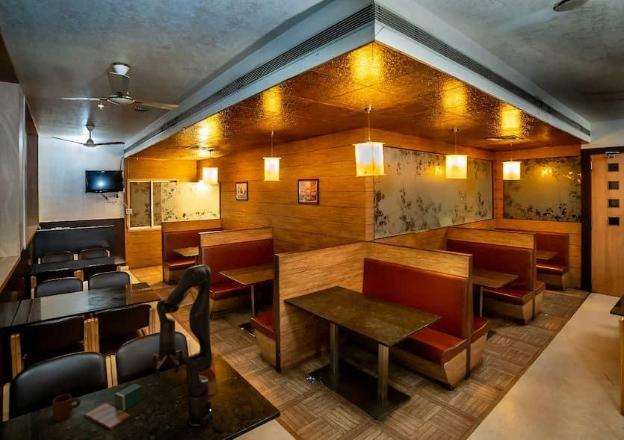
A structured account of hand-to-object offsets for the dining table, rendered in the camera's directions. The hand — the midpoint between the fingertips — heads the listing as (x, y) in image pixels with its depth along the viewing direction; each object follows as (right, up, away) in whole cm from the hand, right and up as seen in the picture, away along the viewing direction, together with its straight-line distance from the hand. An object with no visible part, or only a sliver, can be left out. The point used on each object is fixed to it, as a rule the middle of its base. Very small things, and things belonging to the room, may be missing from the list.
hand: (167, 374), depth 171 cm
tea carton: (-23, -15, +8) cm, 29 cm away
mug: (-47, -20, -1) cm, 51 cm away
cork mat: (-28, -20, -1) cm, 34 cm away
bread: (+10, -17, +27) cm, 34 cm away
